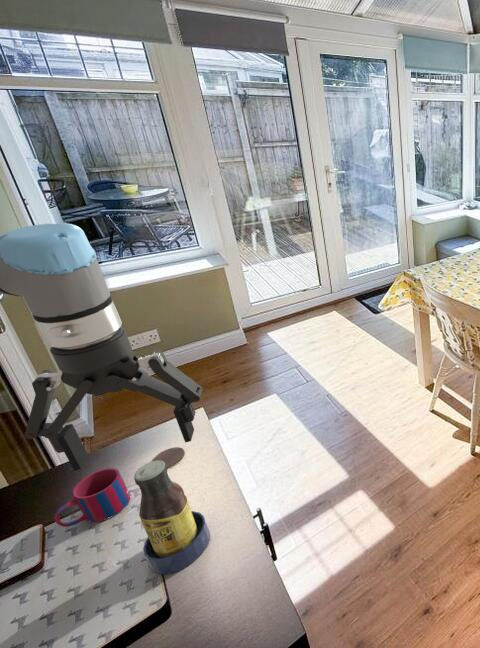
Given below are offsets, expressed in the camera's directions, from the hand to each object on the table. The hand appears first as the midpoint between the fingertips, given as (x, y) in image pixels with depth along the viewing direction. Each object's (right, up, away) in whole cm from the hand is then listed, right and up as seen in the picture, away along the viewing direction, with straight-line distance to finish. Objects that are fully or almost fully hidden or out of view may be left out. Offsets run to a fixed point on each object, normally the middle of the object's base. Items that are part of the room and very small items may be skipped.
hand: (138, 449), depth 65 cm
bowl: (-1, -23, +10) cm, 25 cm away
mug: (-22, -20, +16) cm, 33 cm away
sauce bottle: (-1, -23, +10) cm, 25 cm away
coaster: (-18, -14, +27) cm, 36 cm away
